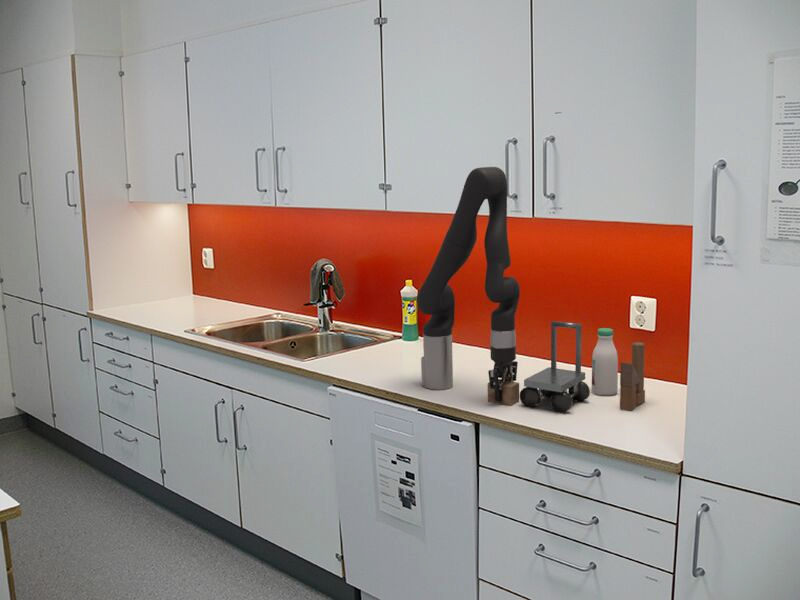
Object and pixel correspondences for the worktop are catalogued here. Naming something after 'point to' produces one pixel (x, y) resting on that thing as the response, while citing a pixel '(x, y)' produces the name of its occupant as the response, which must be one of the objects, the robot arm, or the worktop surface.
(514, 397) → the block
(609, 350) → the milk bottle
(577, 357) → the trolley
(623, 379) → the wooden block
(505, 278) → the robot arm
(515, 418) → the worktop surface
